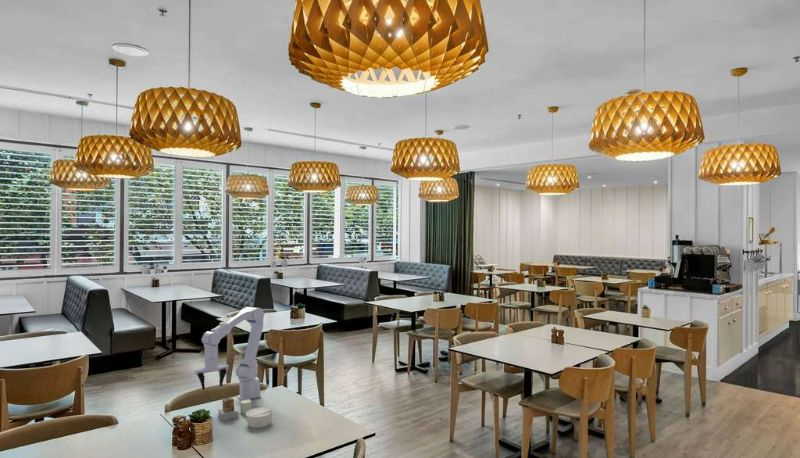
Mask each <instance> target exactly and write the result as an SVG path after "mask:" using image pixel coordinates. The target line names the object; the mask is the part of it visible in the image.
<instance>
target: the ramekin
mask: <svg viewBox="0 0 800 458" xmlns="http://www.w3.org/2000/svg"><path fill="white" fill-rule="evenodd" d="M273 412H274V411H273V409H272V408H271V407H267V406H265V407H264V406H262V407H261V406H260V407H259V406H258V407H255V408H252V409H251V410H249V411H247V412H246V414H245V418H246V422H247V426H248V427H249V428H252V429H262V428H265V427H268V426H269V425H270V424H271V423H272V420H273V419H272V418H273V417H272V416H273Z"/></svg>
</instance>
